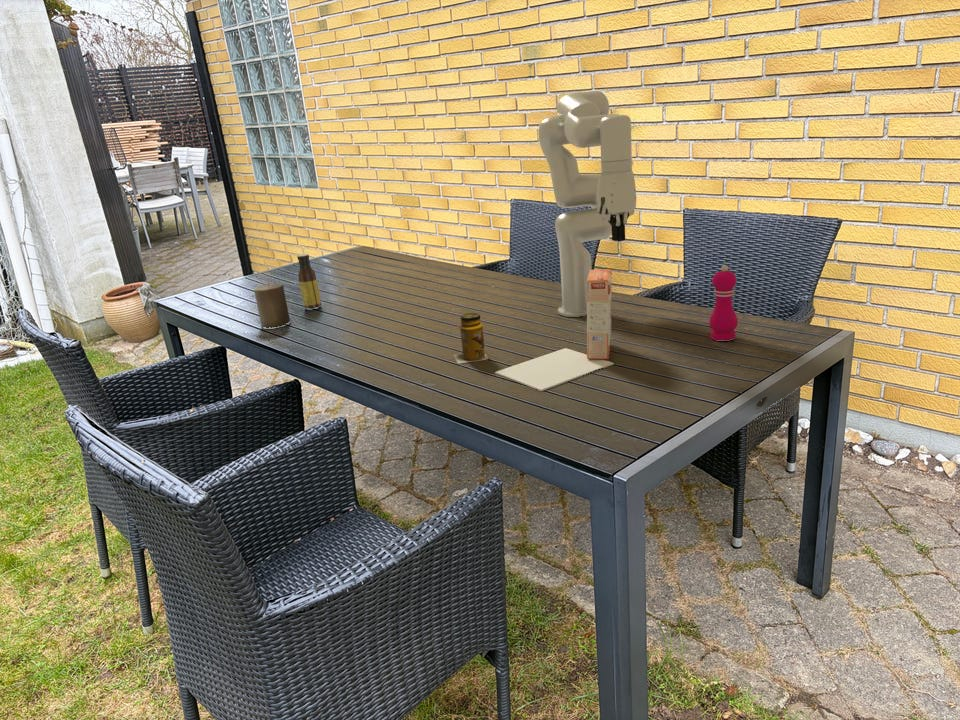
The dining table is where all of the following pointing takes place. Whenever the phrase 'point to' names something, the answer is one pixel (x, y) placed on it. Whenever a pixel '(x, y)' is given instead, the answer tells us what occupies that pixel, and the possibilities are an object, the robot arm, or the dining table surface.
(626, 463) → the dining table surface
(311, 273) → the sauce bottle
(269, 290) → the pillar candle
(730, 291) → the pepper mill
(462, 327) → the condiment
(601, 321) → the cracker box
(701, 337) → the dining table surface
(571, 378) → the mat
